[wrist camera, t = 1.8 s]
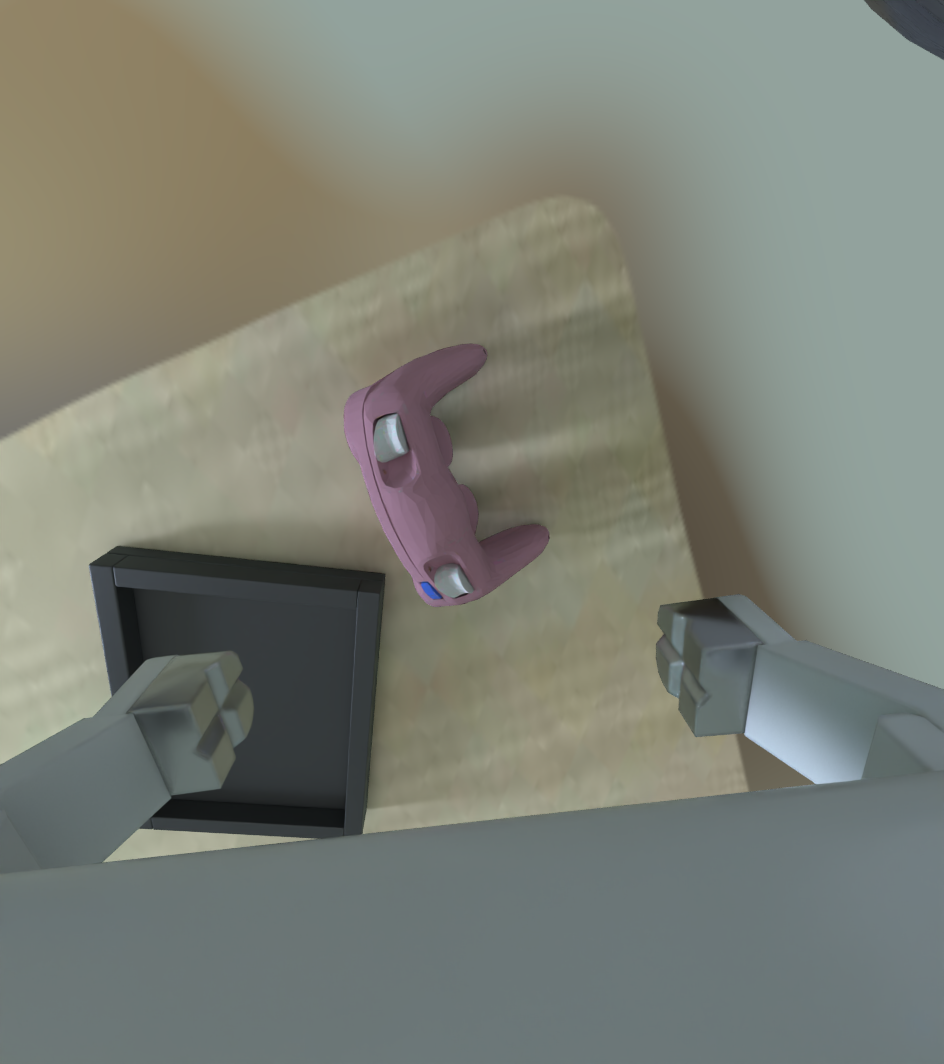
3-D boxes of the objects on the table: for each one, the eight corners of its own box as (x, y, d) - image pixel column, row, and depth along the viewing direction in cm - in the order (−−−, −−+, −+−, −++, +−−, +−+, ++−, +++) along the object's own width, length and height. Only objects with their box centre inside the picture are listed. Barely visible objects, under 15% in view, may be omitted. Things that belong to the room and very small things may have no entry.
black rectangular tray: (385, 573, 24) (380, 593, 22) (366, 810, 30) (361, 841, 28) (116, 545, 23) (87, 564, 21) (153, 797, 29) (133, 828, 27)
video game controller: (398, 362, 22) (293, 410, 16) (488, 327, 19) (400, 370, 14) (476, 550, 25) (411, 641, 20) (559, 539, 23) (512, 638, 18)
